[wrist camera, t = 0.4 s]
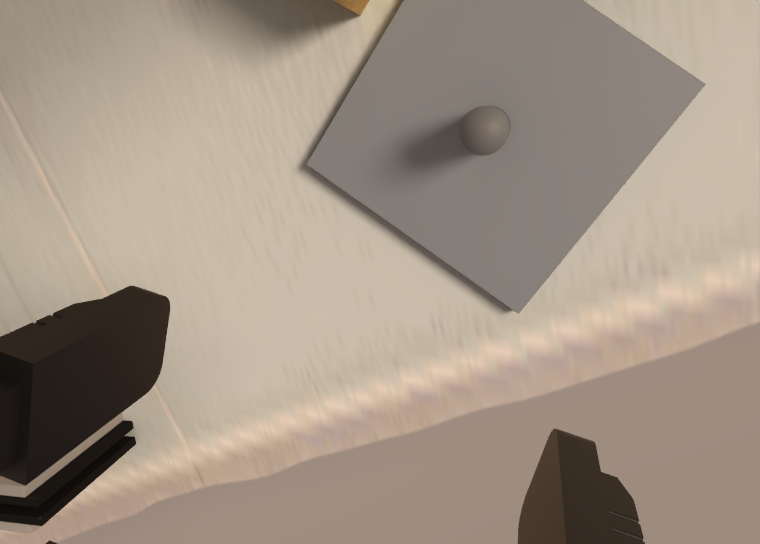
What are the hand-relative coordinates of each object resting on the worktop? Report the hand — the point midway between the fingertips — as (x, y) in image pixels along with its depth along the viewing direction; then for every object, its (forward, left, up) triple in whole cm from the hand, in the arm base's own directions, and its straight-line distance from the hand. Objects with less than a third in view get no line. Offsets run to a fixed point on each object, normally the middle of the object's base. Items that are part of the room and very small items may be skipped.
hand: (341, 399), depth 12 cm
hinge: (+35, -15, -27) cm, 47 cm away
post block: (-4, -1, -27) cm, 27 cm away
